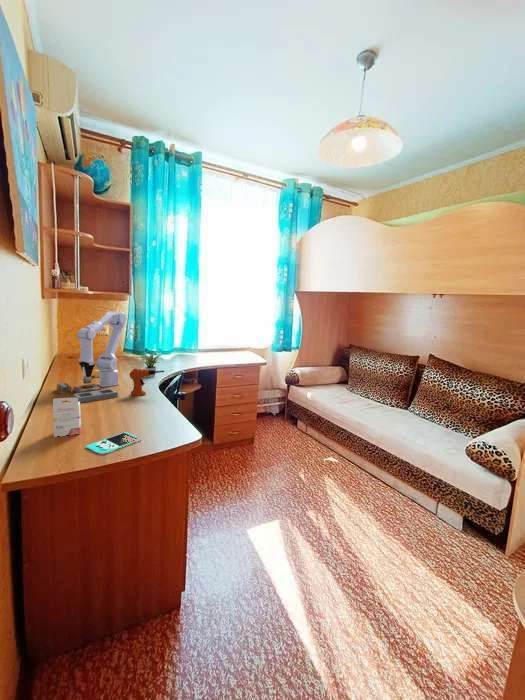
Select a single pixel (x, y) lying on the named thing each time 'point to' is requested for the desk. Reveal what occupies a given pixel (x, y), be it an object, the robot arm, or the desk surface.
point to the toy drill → (140, 380)
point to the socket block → (86, 388)
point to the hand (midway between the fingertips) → (87, 375)
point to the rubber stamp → (97, 373)
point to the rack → (96, 395)
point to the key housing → (64, 389)
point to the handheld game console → (110, 443)
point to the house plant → (150, 363)
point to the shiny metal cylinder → (86, 379)
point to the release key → (63, 385)
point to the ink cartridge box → (66, 417)
